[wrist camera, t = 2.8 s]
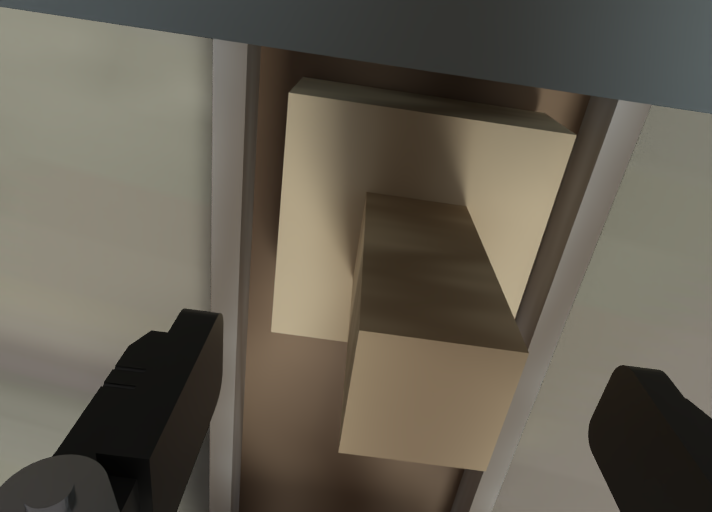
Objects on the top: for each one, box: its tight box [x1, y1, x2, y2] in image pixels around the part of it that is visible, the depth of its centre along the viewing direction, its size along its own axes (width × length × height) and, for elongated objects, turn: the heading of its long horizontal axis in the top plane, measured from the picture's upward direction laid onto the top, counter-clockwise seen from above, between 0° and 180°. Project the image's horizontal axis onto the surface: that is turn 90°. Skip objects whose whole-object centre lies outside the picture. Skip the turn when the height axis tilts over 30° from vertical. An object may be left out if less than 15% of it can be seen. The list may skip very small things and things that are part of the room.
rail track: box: [0, 0, 712, 512], centre depth 18 cm, size 14×40×14 cm, turn 172°
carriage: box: [271, 77, 577, 471], centre depth 14 cm, size 8×8×10 cm
